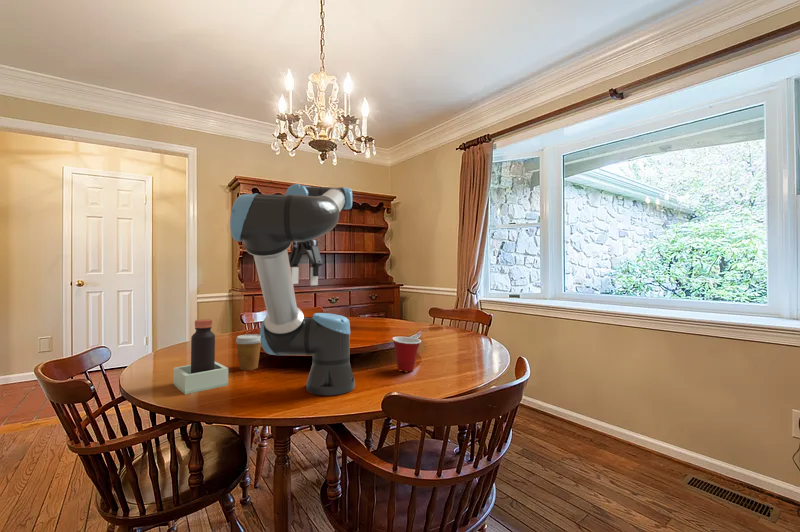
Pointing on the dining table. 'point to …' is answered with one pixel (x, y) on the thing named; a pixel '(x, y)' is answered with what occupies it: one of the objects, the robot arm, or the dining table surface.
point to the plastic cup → (406, 352)
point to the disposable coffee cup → (248, 351)
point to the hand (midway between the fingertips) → (304, 284)
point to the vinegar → (202, 347)
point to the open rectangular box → (199, 378)
